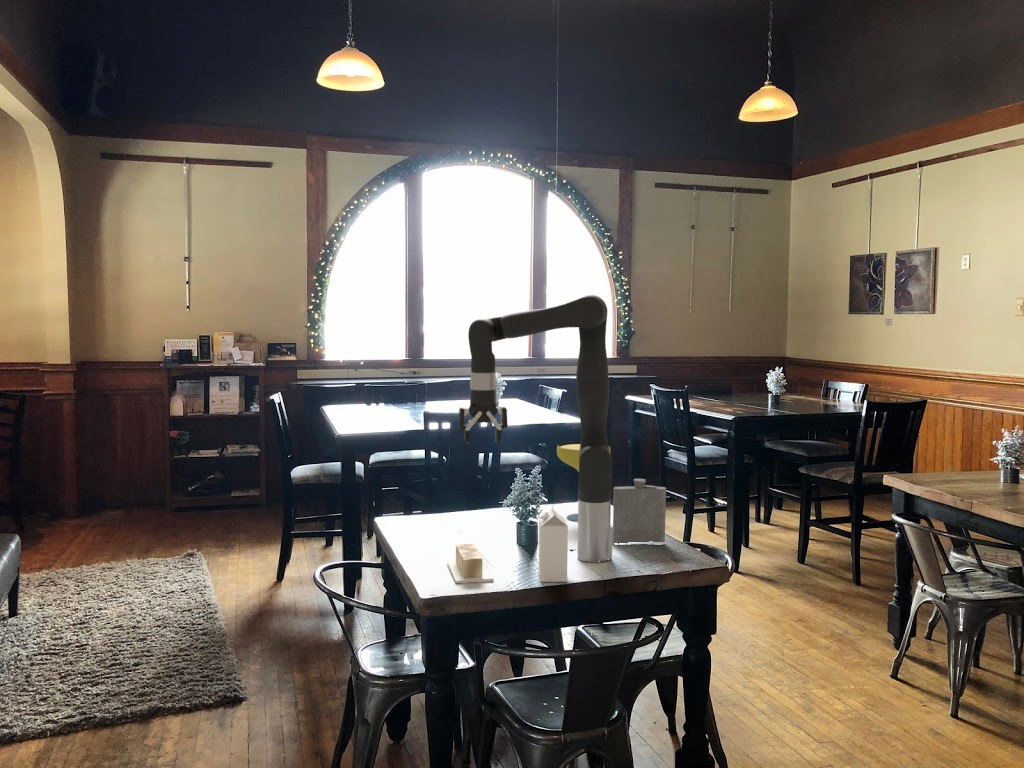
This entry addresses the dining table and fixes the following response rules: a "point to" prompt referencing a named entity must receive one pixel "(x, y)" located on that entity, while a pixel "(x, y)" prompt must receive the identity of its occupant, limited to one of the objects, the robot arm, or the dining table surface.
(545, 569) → the milk carton
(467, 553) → the birch block
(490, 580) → the white board
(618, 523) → the hip flask
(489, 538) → the dining table surface
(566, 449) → the cocktail glass
